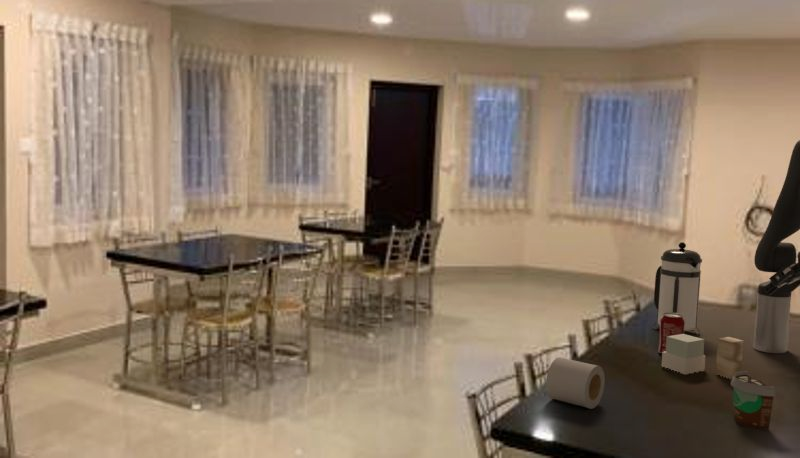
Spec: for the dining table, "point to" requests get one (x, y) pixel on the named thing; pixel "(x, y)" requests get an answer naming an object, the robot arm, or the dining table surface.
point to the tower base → (683, 363)
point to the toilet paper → (575, 382)
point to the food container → (752, 401)
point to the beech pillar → (729, 357)
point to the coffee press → (678, 285)
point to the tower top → (685, 346)
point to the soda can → (669, 328)
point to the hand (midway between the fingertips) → (776, 291)
